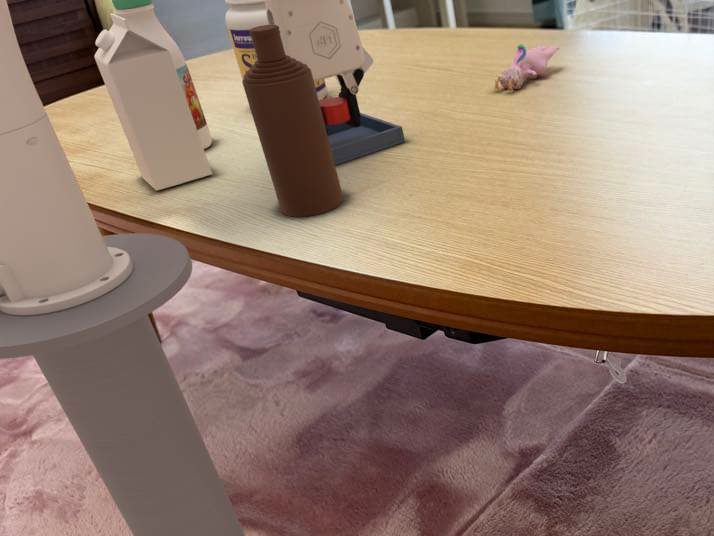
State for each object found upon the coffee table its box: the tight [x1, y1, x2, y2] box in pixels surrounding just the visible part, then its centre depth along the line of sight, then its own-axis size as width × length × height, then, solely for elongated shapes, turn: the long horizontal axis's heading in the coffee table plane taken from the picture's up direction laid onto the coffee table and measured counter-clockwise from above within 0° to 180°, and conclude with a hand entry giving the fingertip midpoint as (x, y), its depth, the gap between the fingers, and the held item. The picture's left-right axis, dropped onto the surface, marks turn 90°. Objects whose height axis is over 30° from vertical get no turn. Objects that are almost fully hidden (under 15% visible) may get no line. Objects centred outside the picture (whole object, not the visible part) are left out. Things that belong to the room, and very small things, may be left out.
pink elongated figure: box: [494, 43, 560, 94], centre depth 123 cm, size 6×6×15 cm
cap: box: [319, 96, 350, 125], centre depth 103 cm, size 4×4×2 cm
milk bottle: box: [111, 0, 213, 150], centre depth 107 cm, size 8×8×20 cm
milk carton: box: [94, 13, 213, 191], centre depth 98 cm, size 7×7×19 cm
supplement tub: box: [224, 0, 327, 100], centre depth 123 cm, size 12×12×17 cm
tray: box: [326, 112, 406, 166], centre depth 106 cm, size 13×11×2 cm
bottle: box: [241, 25, 344, 218], centre depth 85 cm, size 7×7×18 cm
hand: (336, 128), depth 105 cm, fingers closed on cap, 4 cm apart
